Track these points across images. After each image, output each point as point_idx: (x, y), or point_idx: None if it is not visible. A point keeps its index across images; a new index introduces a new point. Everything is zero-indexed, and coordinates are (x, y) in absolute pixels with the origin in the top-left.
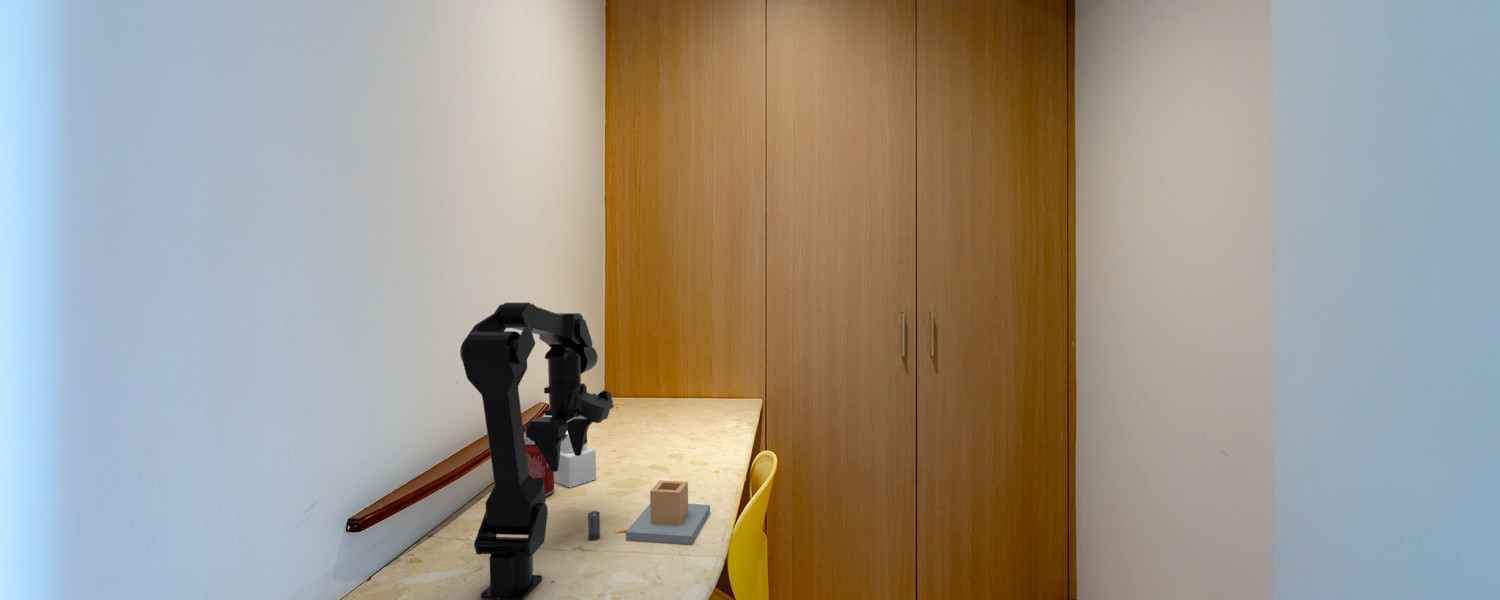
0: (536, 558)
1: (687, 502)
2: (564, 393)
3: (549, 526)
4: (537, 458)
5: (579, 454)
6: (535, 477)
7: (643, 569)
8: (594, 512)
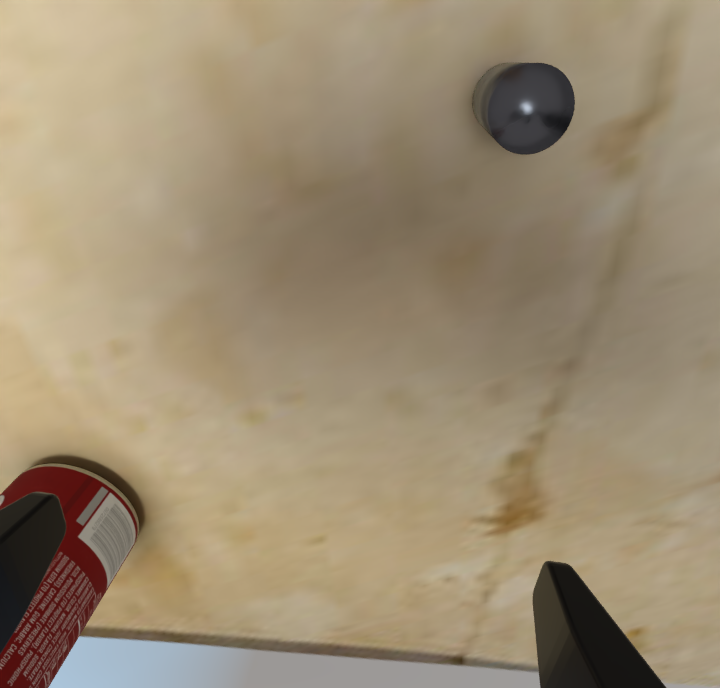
0: (704, 310)
1: None
2: None
3: (371, 367)
4: (11, 658)
5: (50, 504)
6: (83, 573)
7: None
8: (514, 110)
